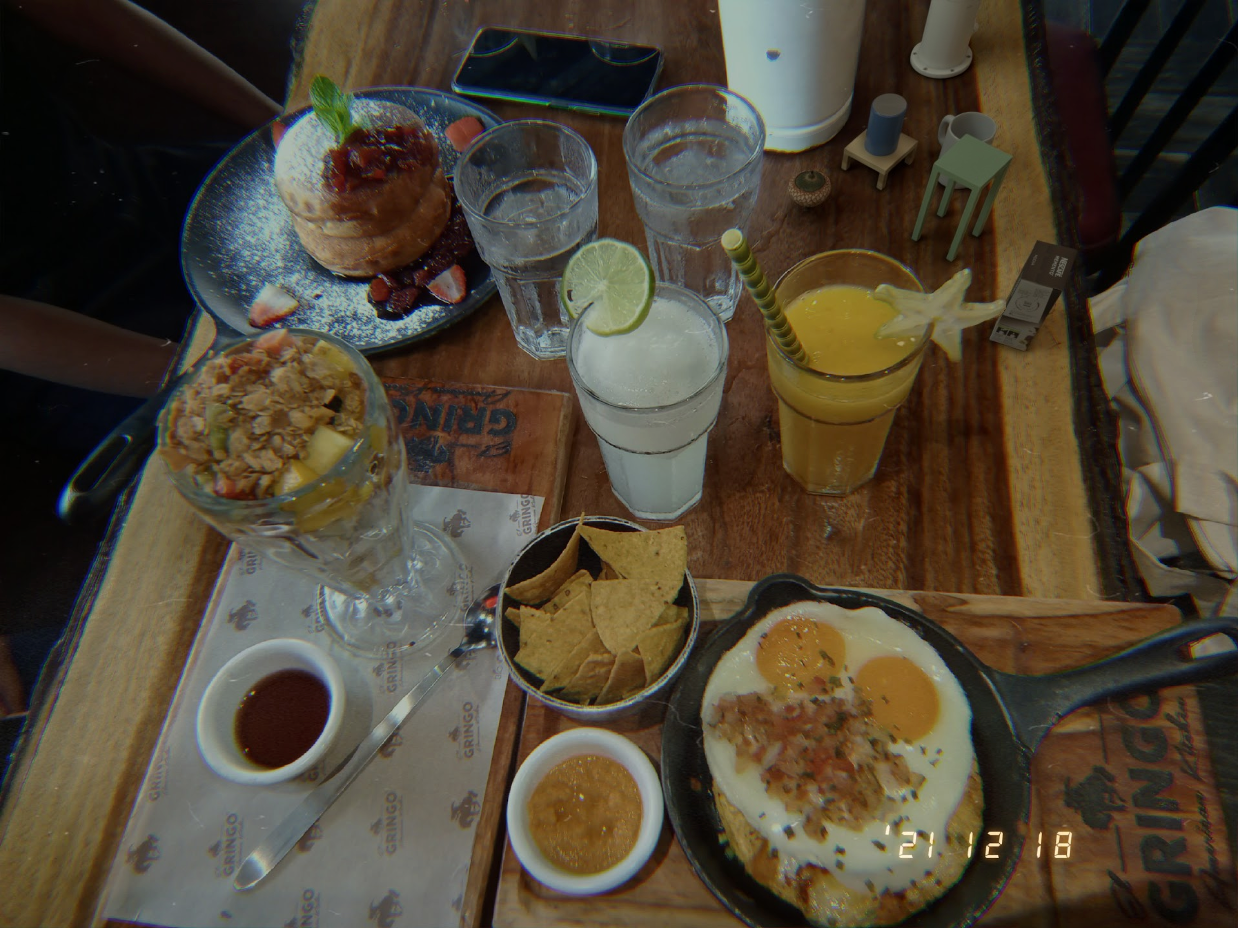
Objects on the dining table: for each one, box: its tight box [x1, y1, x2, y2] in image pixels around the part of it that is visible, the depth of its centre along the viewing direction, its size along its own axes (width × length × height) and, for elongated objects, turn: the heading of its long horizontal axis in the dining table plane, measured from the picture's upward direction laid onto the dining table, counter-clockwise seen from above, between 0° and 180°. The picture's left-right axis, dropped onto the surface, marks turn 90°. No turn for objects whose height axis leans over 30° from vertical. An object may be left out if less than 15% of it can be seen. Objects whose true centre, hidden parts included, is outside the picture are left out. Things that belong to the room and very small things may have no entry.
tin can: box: [864, 93, 908, 156], centre depth 141 cm, size 6×6×9 cm
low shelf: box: [840, 128, 919, 191], centre depth 147 cm, size 10×10×5 cm
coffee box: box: [989, 239, 1079, 352], centre depth 121 cm, size 9×6×16 cm
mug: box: [937, 111, 998, 190], centre depth 141 cm, size 12×8×11 cm
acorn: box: [787, 169, 832, 212], centre depth 142 cm, size 8×8×10 cm
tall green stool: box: [911, 134, 1014, 262], centre depth 131 cm, size 9×9×18 cm
